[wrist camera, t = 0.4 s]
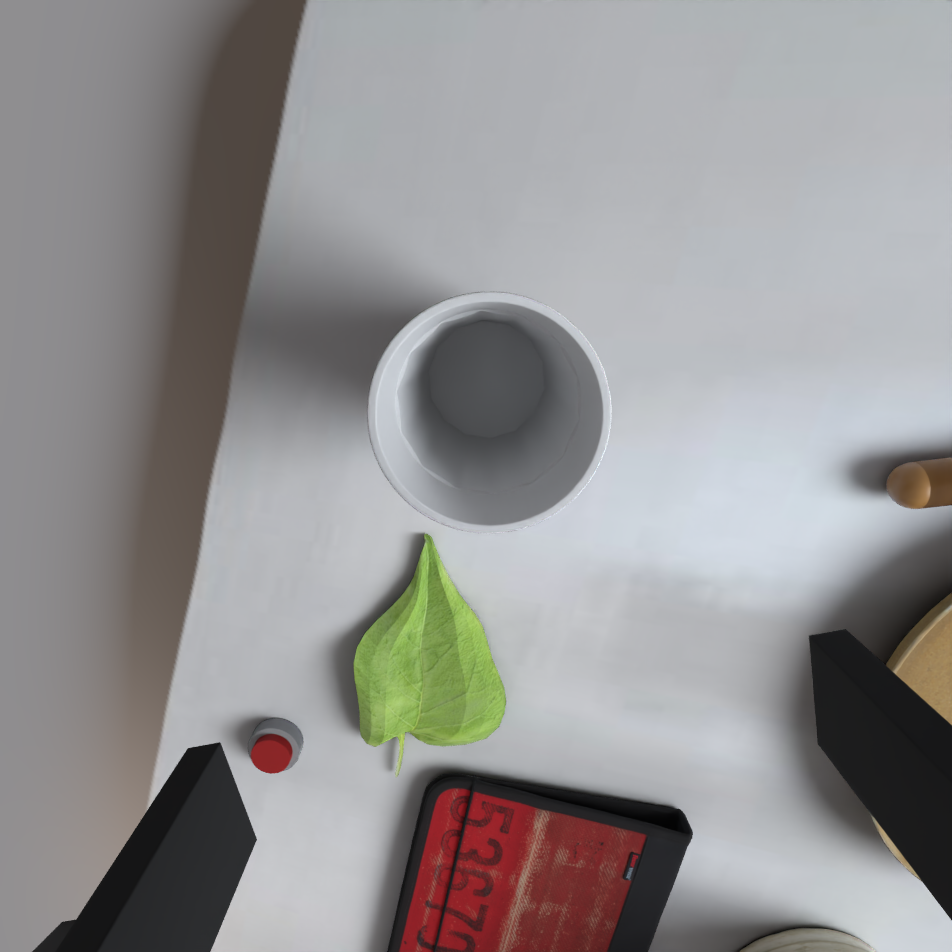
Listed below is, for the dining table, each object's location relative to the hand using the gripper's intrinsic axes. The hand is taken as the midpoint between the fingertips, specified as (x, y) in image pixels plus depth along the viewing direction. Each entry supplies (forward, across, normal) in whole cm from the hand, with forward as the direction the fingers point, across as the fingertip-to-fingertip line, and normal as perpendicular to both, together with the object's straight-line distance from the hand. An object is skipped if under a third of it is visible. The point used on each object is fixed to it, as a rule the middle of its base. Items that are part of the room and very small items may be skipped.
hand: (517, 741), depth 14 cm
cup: (+21, +1, +6) cm, 21 cm away
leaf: (+21, -6, -10) cm, 24 cm away
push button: (+21, -16, -13) cm, 29 cm away
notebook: (+21, -4, -29) cm, 36 cm away
